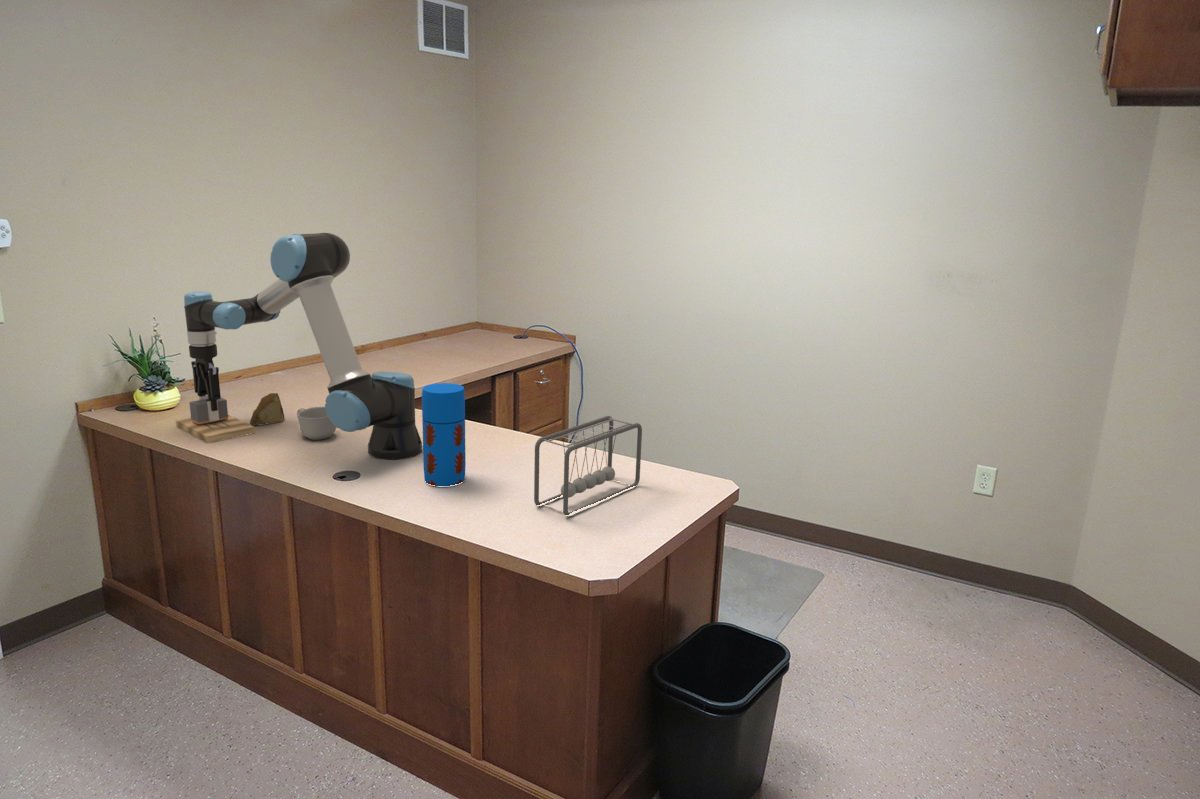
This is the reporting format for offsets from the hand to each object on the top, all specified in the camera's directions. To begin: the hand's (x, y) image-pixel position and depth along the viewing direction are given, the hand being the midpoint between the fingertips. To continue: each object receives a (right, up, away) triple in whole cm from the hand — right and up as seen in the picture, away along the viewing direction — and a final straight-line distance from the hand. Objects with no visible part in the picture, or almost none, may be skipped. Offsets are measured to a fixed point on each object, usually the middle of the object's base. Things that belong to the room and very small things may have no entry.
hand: (210, 418), depth 251 cm
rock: (+15, -2, +8) cm, 16 cm away
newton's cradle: (+117, -19, -43) cm, 126 cm away
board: (+2, -3, -1) cm, 4 cm away
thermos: (+79, -16, -35) cm, 88 cm away
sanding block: (0, 0, 0) cm, 0 cm away
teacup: (+34, -5, -3) cm, 34 cm away
